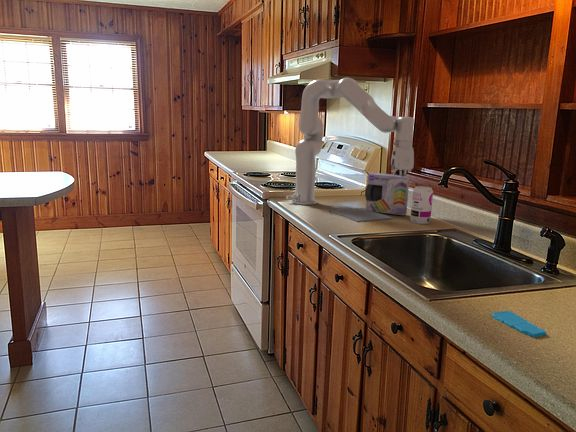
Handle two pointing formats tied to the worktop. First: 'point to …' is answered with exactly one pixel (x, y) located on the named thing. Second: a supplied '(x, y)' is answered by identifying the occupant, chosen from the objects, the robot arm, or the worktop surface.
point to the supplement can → (421, 205)
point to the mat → (361, 214)
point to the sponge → (518, 323)
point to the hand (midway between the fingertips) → (400, 184)
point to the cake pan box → (387, 193)
